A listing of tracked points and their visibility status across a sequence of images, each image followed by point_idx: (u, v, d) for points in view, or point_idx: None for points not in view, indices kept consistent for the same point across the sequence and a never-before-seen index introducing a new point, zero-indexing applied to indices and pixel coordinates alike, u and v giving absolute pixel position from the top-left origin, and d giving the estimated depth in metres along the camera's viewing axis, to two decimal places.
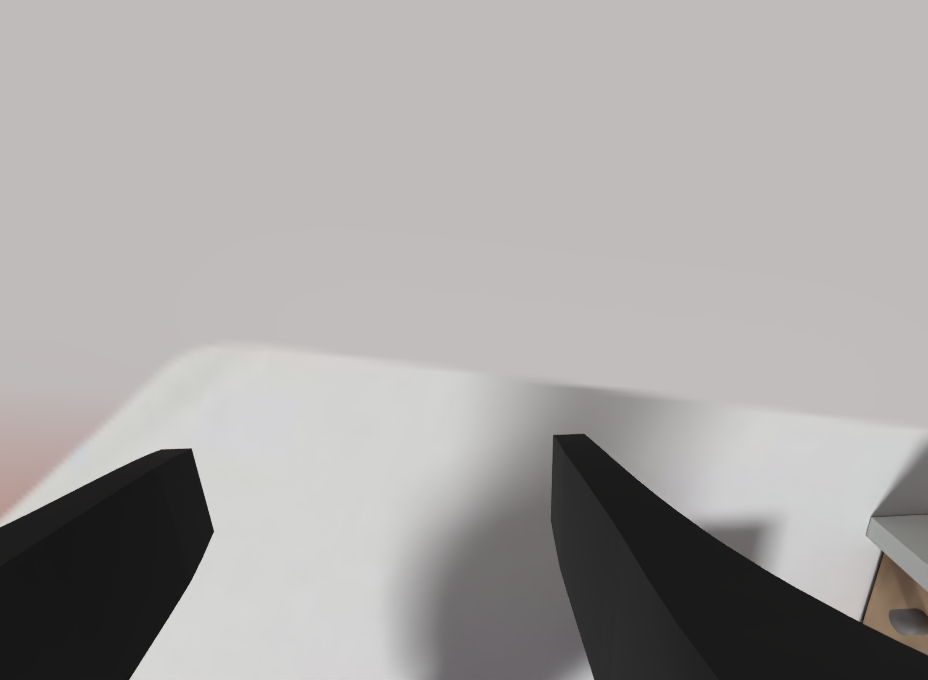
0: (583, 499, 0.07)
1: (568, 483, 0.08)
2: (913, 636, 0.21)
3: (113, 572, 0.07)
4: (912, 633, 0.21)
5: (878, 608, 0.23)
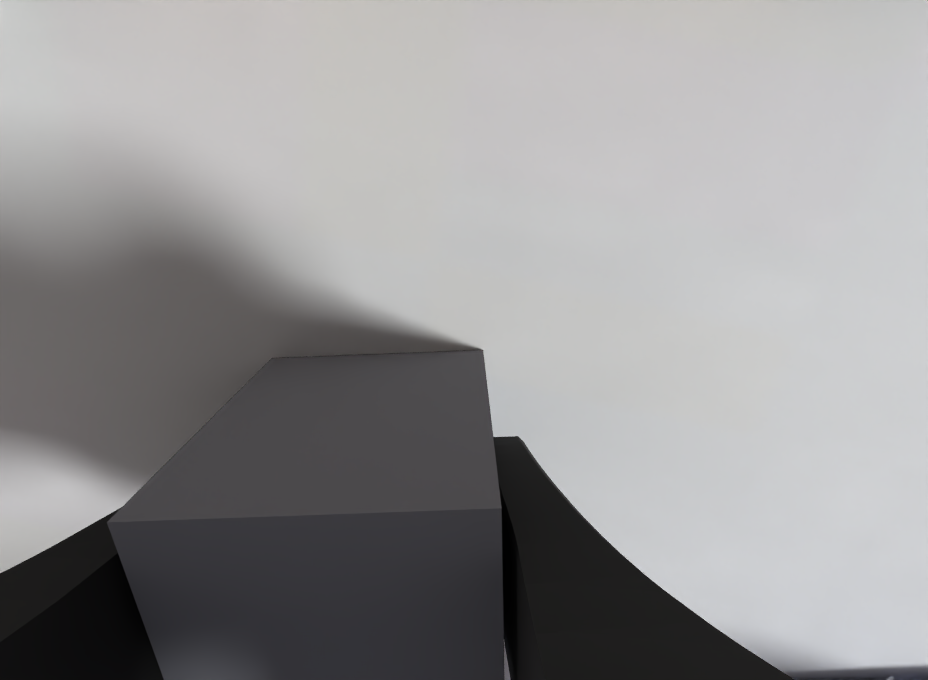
0: None
1: None
2: None
3: None
4: None
5: None
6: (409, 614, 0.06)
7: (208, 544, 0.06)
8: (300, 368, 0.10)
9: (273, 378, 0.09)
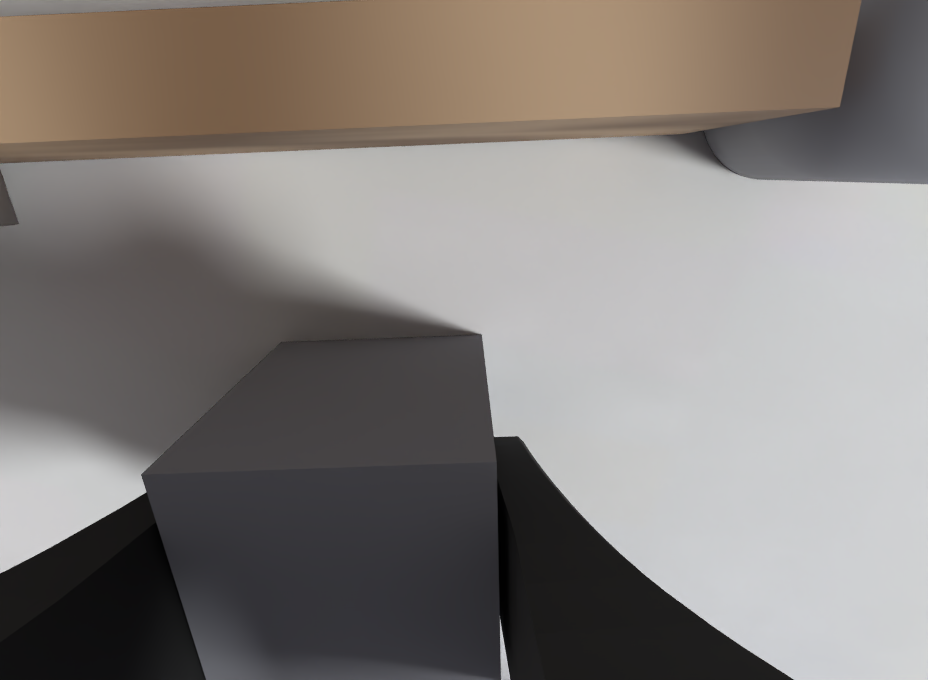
0: (499, 502, 0.07)
1: None
2: (27, 151, 0.07)
3: None
4: None
5: (133, 155, 0.09)
6: (413, 562, 0.06)
7: (232, 495, 0.06)
8: (309, 349, 0.10)
9: (284, 358, 0.10)
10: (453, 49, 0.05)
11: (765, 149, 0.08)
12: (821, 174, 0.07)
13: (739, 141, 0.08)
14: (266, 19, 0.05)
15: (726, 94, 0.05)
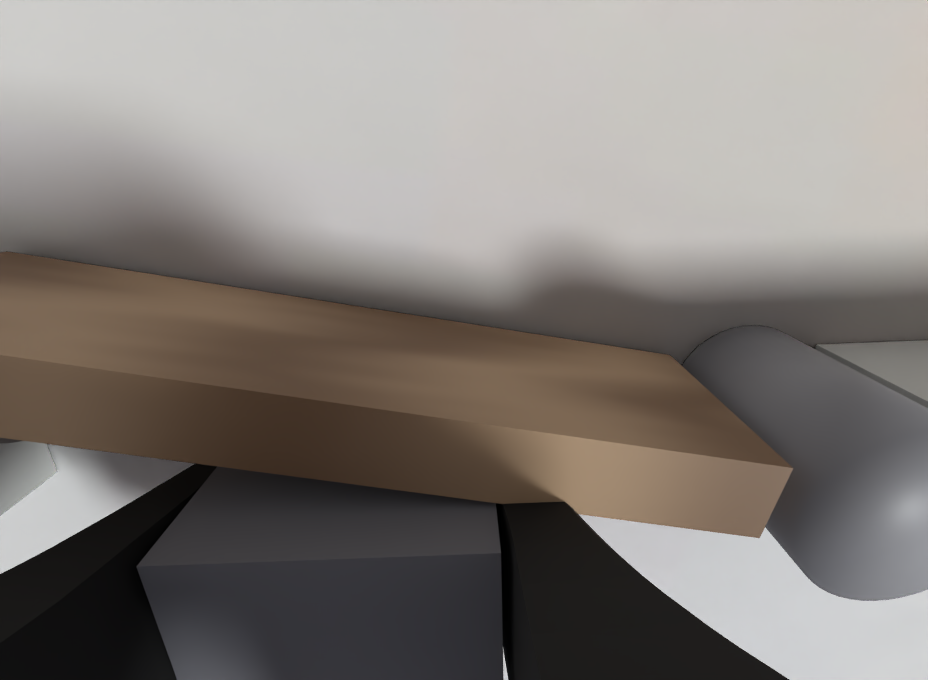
0: None
1: None
2: None
3: None
4: None
5: None
6: (415, 647, 0.06)
7: (230, 586, 0.06)
8: None
9: None
10: (477, 455, 0.06)
11: None
12: None
13: None
14: (332, 412, 0.06)
15: (678, 516, 0.07)
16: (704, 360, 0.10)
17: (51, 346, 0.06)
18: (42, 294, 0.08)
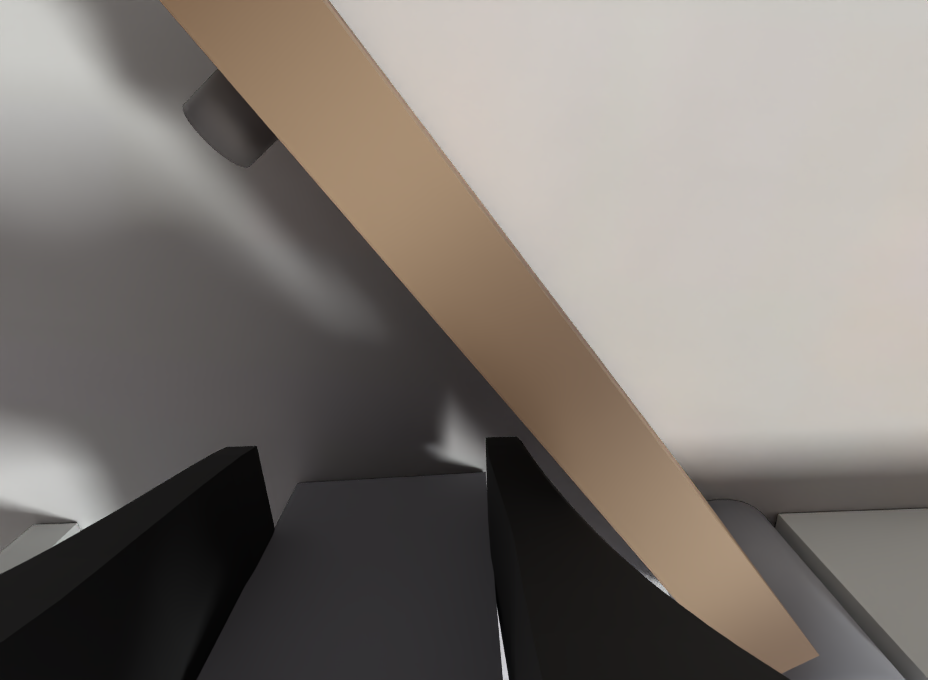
0: (497, 502, 0.07)
1: (491, 486, 0.08)
2: None
3: (196, 569, 0.07)
4: (212, 128, 0.06)
5: None
6: None
7: None
8: (324, 498, 0.11)
9: (301, 512, 0.10)
10: (657, 501, 0.07)
11: None
12: None
13: None
14: (603, 388, 0.06)
15: None
16: None
17: (421, 129, 0.05)
18: (360, 45, 0.06)
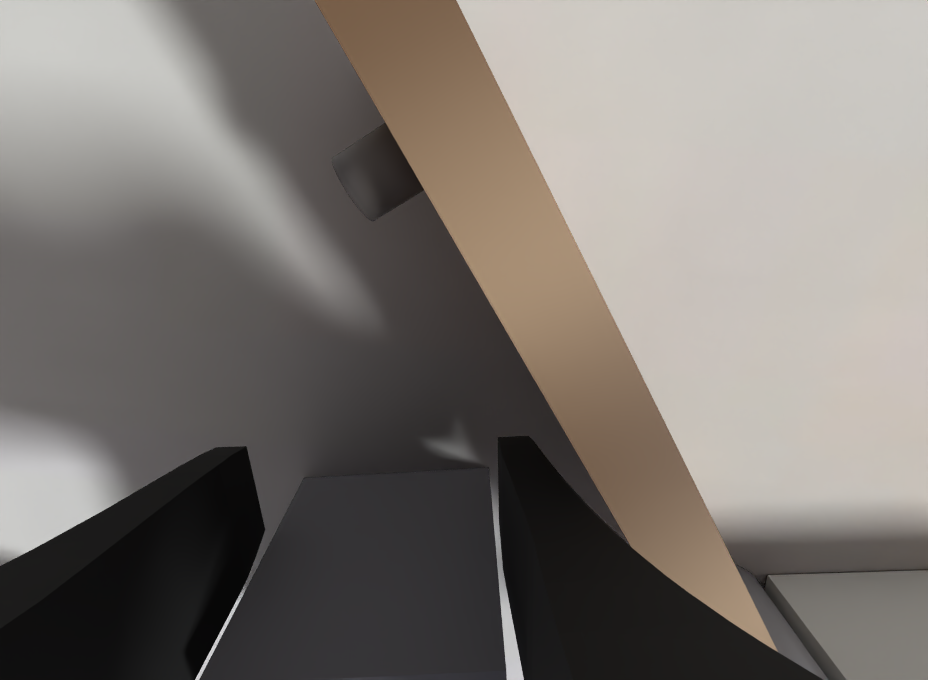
0: (513, 502, 0.07)
1: (505, 486, 0.08)
2: None
3: (183, 570, 0.07)
4: (360, 188, 0.06)
5: None
6: None
7: None
8: (331, 491, 0.11)
9: (309, 504, 0.11)
10: (704, 577, 0.07)
11: None
12: None
13: None
14: (679, 475, 0.07)
15: None
16: None
17: (563, 228, 0.06)
18: None
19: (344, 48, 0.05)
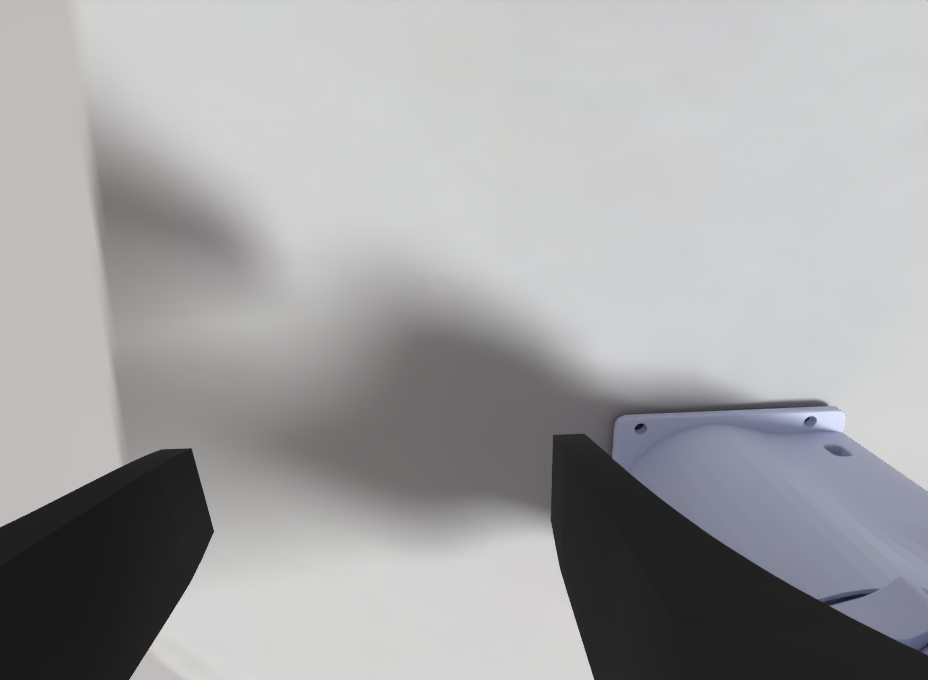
0: (583, 499, 0.07)
1: (568, 483, 0.08)
2: None
3: (113, 572, 0.07)
4: None
5: None
6: None
7: None
8: None
9: None
10: None
11: None
12: None
13: None
14: None
15: None
16: None
17: None
18: None
19: None
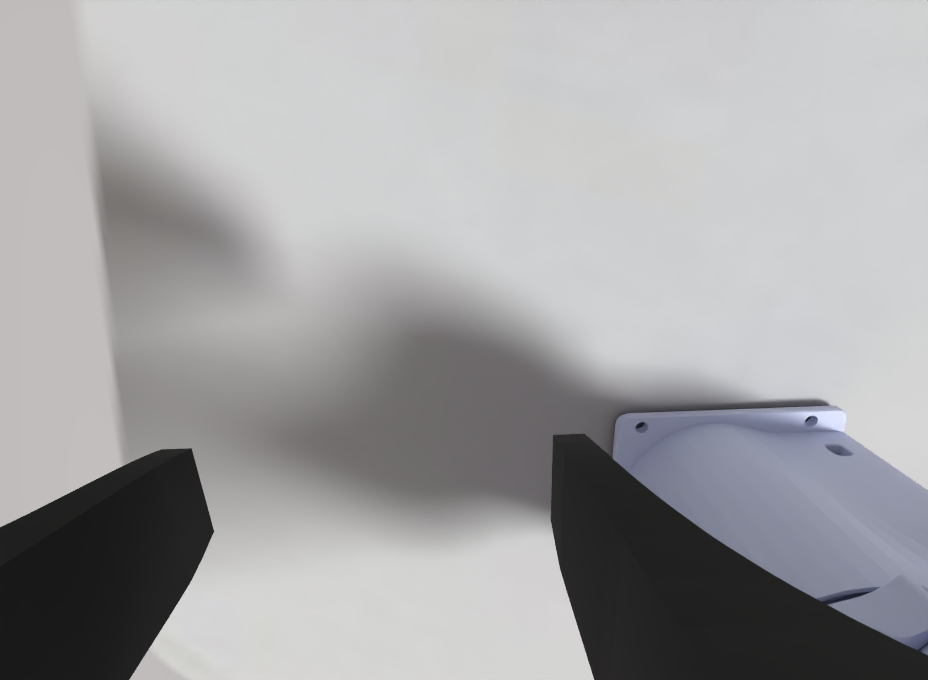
0: (583, 499, 0.07)
1: (568, 483, 0.08)
2: None
3: (113, 572, 0.07)
4: None
5: None
6: None
7: None
8: None
9: None
10: None
11: None
12: None
13: None
14: None
15: None
16: None
17: None
18: None
19: None
